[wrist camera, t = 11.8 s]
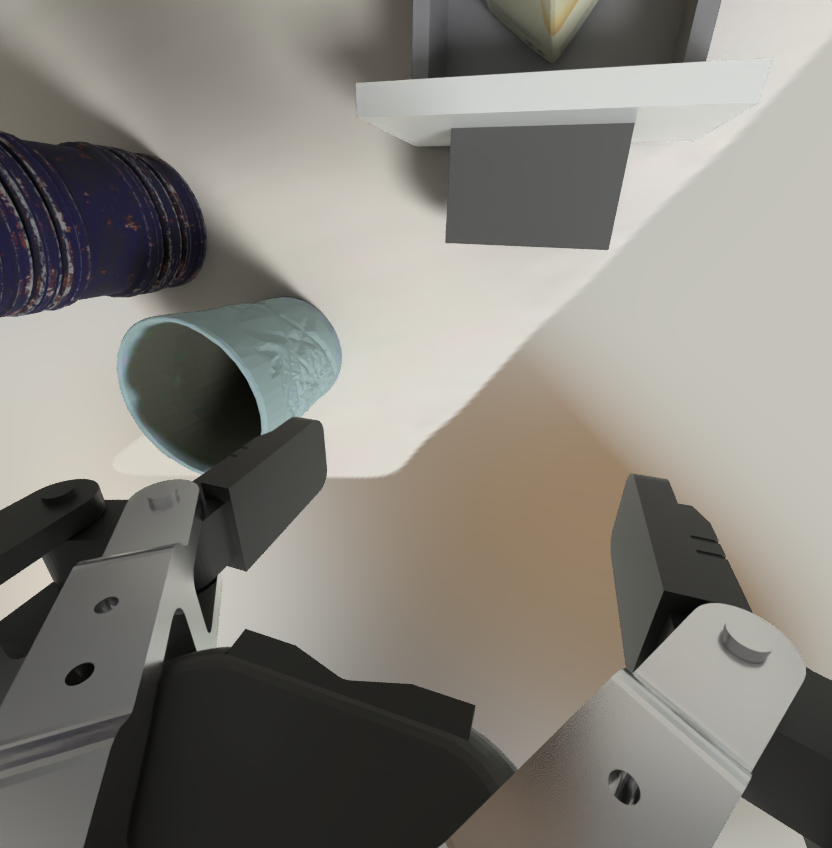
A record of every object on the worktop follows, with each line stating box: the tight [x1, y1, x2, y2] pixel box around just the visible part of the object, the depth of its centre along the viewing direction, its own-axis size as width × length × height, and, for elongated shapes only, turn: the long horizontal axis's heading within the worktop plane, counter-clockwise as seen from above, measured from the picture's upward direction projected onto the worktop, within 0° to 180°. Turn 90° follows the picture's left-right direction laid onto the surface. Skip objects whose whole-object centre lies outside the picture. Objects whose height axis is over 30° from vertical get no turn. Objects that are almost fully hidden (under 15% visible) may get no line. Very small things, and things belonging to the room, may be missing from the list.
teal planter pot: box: [117, 297, 342, 474], centre depth 30 cm, size 10×10×12 cm
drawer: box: [356, 0, 773, 250], centre depth 18 cm, size 15×19×8 cm
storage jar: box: [0, 131, 207, 317], centre depth 28 cm, size 10×10×15 cm
